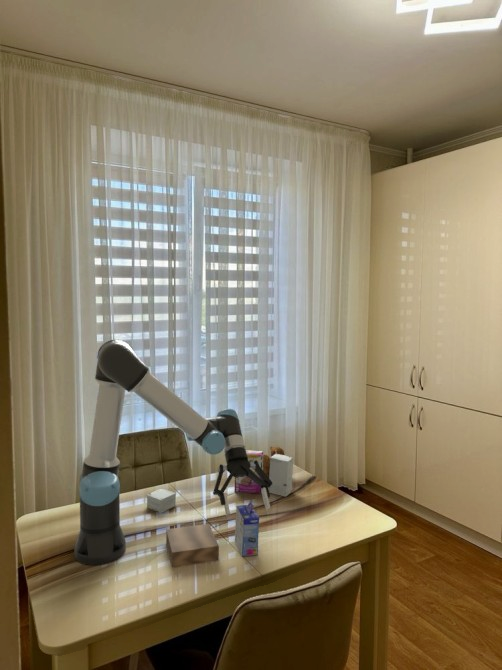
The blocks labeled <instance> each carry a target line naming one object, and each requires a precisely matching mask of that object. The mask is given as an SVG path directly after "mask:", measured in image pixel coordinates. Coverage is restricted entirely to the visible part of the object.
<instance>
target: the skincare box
mask: <svg viewBox="0 0 502 670" xmlns="http://www.w3.org/2000/svg"><path fill="white" fill-rule="evenodd" d="M269 458H270V472H269V479H270V480H271V481H272V485H271V487H269V488H268V489H269V493H270V494H274V495H277V496H282V497H285V498H286V497H287V496H289V494H291V493H292V489H293V487H292V486H293V474H294V473H293V472H294V460H295V459H294V457H292V456H288V455H286V454H285V455H279V454H275V455H273V456H272V457H271V456H270V457H269Z"/></svg>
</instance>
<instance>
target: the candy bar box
mask: <svg viewBox="0 0 502 670" xmlns="http://www.w3.org/2000/svg"><path fill="white" fill-rule="evenodd" d="M246 453H247V457H248V461H249V462H250V463H252V462H254V461H255V460H257V461H258V464H259V466H260V467H261V469H262V470H263V455H264V451H262V450H249V449H246ZM249 469H251V470H252V471H253V473H254V474H256V475H257V476H258V477H259V478H260V476H259V475H258V474H257V473H256V471H255V470H254V469H253V468H252V467H250V468H249ZM260 479H261V478H260ZM261 490H262V488H261V487H260V486H259V485H257V484H256V483H255V482H254V481H253V480H251V479H250V478H248V477H247V476H244V477H238V478H235V477H234V492H235V493H245V494H246V493H248V494H260V495H262V492H261Z"/></svg>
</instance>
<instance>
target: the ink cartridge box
mask: <svg viewBox="0 0 502 670" xmlns="http://www.w3.org/2000/svg"><path fill="white" fill-rule="evenodd" d="M235 507H236V508H235V525H234V526H235V527H234V528H235V529H234V543H235V545H236V548H237V549H238V551H239V553H240V556H241V557H248V556H258V555H259V554H258V553H259V534H260V533H259V532H260V530H259V529H260V517H259V516H260V515H258V513H257V512H256V510H255V508H254V504H253V502H252V500H250V501H249V502H248V504H240V505H236V506H235Z"/></svg>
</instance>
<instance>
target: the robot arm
mask: <svg viewBox="0 0 502 670" xmlns="http://www.w3.org/2000/svg"><path fill="white" fill-rule="evenodd" d="M96 354H97V355H96V359H97V363H96V369H95V375H94V376H95V377H94V380H95V381H96V382H97V383H98V390H97V398H96V405H95V410H94V411H95V412H94V418H93V426H92V427H93V428H92V434H91V440H90V447H89V454H88V455H87V456H86V457H84V459H83V464H82V470H81V474H80V476H79V488H78V495H79V526H80V527H79V528H80V529H79V532H78V536H77V539H76V543H75V545H74V549H73V550H74V558H75V560H76V561H77V562H79V563H81V564H83V565H88V566H95V565H96V566H97V565H105V564H108V563H112V562H113V561H116V560H117V559H119V558H120V557H122V556H123V555H124V554H125V552H126V546H127V545H126V543H127V542H126V538H125V535H124V533H123V529H122V527H121V521H120V520H121V519H120V517H121V516H120V513H121V511H120V491H121V485H120V484H121V483H120V480H119V472H120V471H119V470H120V465H121V464H120V463H121V461H120V460H119V458H118V457H117V452H118V446H119V445H118V444H119V439H120V431H121V424H122V417H123V409H124V402H125V395H126V392H128V393H135V394H136V395H137V396H138V397H140V399H142V400H143V401H144V402H146V403H147V404H148V405H150V406H151V407H152V408H153V409H154V410H156V411H157V412H158V413H159V414H161V415H162V416H163V417H165V418H166V419H167V420H168V421H170V423H172V424H173V425H174V426H175V427H177V428H178V429H179V430H180V431H182V432H183V433H184V434H185V437H186V439H187V440H188V441H190V442H191V441H194V442H195V443H196V444H197V445H199V446H200V447H201V448H202V450H203V451H204V452H206V453H207V454H209V455H212V456H213V455H218V454H220V453H221V452H224V458H225V464H226V465H223V464H222V463H221V464H219V466H218V475H217V479H216V480H215V481H216V482H215V485H214V488H213V492H212V495H213V496H218V498H219V501H220V505H221V506H224V511H225V517H229V516H230V514H231V510H230V504H229V500H228V495H227V492H225V491H226V489H227V487H228V486H229V484H230V482H231V481H232V479H233V478H234V479H235V478H238V477H244V476H247V477H248V478H250V479H251V480H253V481H254V482H255V483H256V484H257V485H259V486H260V487H261V488H262V490H261V495H262V500H263V503H264V504H263V505H264V508H265V511H268V510H269V509H270V508H271V505H270V504H271V503H270V501H269V498H270V497H271V493H269V489H268V488H269V487H271V485H272V481H271V480H270V479H269V477H268V476H267V475H266V474H265V472H264V471H263V470H262V469H261V467H260V466H259V464H258V461H257V460H255V461H254V462H252V463H250V462H249V461H248V457H247V453H246V450H247V449H246V446H245V445H246V444H245V441H244V437H243V434H242V427H241V424H240V420H239V416H238V413H237V411H236V410H235V409H233V408H225V409H222V410H221V409H220V411H218V412H217V413H216V416H214V417H203V416H202V415H201V414H200V413H199V412H197V411H196V410H195V409H193V408H192V407H191V406H190V405H189V404H187V402H185V401H184V400H183V399H181V398H180V397H179V396H178V395H177V394H176V393H175V392H173V391H172V390H171V389H170V388H168V387H167V385H165V384H164V383H163V382H161V381H160V379H158V378H156V376H154V375H153V374H152V373H151V372H150V370H151V369H150V367H149V366H148V365H147V364H145V362H143V361H142V359H140V357H139V356H138V355H137V354H136V352H135V350H134V349H133V347H132V345H130V344H129V342H127V341H124V340H121V339H110V340H108V341H105V342H104V343H103V344H102V345H101V346H100V347H99V349H98V351H97V353H96ZM250 467H252V468H253V469H254V470H255V471H256V473H257V474H258V475H259V476H260V478H261V479H260V478H259V477H258V476H257V475H256V474H254V473H253V471H252V470H251V469H249V468H250ZM226 471H227V472H228V473H229V475H228V476H227V479H226V480H225V482H224V484H223V485H222V487H221V489H219V488H220V485H221V480H222V478H223V474H224V473H225V472H226Z"/></svg>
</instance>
